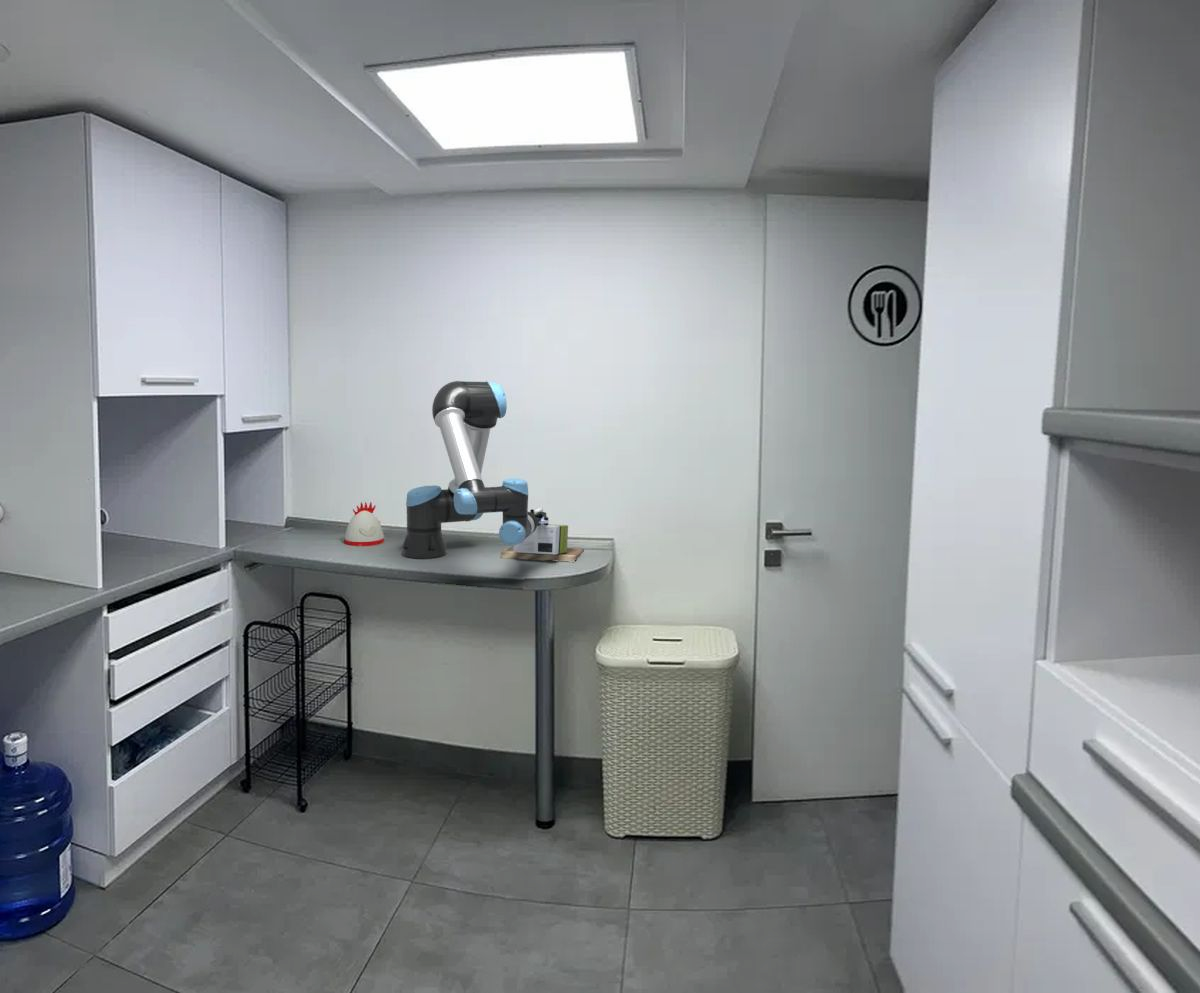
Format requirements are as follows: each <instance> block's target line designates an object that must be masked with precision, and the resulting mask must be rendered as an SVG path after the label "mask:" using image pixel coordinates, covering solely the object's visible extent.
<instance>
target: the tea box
mask: <svg viewBox="0 0 1200 993" xmlns="http://www.w3.org/2000/svg"><path fill="white" fill-rule="evenodd" d="M568 534H569V525H567V524H553V523H552V524H551V523H548V525H547V526H546V525H542V523H541V525H539V526H537V528H536V530H535V531H534V532H533V533H532V534H530V535H529V536H528V537H527V538H525V539H524V541H523V542H521V543H520V544H517V545H514V552H518V553H534V554H551V555H557V554H561V553H566V552H567V548H568V537H569V536H568Z"/></svg>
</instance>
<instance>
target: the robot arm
mask: <svg viewBox="0 0 1200 993" xmlns="http://www.w3.org/2000/svg"><path fill="white" fill-rule="evenodd" d="M507 405H508V404H507V396H506V392H505V390H504V388H503V386H502V385H501V384H499V383H498V382H494V381H461V380H456V381H455V380H454V381H450V382H448V383H446V384H445V385H443V386H441V388H440V389H439V390H438V392H437V393H436V394H435V397H434V398H433V402H432V406H431V407H432V408H431V409H432V410H431V411H432V418H433V421H434V425H435V426H437V427H438V428H439V430H440V433H441V437H442V440H443V442H444V446H445V449H446V450H445V451H446V452H447V457H448V458H449V462H450V466H451V469H452V472H453V475H454V478H453V479H452V480H450V482H449V483H448V488H446V489H442V488H441V486H440V485H433V484H432V485H423V486H418V487H415V488H412V489H410V490H409V491H408V492H407V493H406V501H405V502H406V503H405V506H406V535H405V538H404V540H403V543H402V544H403V545H402V547H401V555H402V556H403V557H405V558H410V559H434V558H439V557H443V556H445V555H447V553H448V552H447V545H446V542H445V539H444V536H443V533H442V524H445V523H446V524H447V523H458V522H471V521H477V520H479V519H481V517H482V516H483V514H488V513H489V514H491V513H501V512H502V524H501V526H500V528H499V530H498V537H499V540H501V542H502V543H503V544H505V545H507V546H510V547H512V546H514V545H517V544H520V543H521V542H523V541H524V539H525V538H527V537H528V536H529V535H530V534H532V533H533V532H534V531H535V530H536V528H537V526H539V525H541V524H542V525H546V526H547V525H548V524H549V516H547V512H544V508H541V507H537V508H536V510H535V509H529V487H528V486H529V484H528V482H527V481H526V479H523V478H505V479H504V480H502V485H500V486H485V484H484V480H483V478H482V470H483V466H484V461H485V456H486V452H487V446H488V442H489V437H490V432H491V429H493V428H495V427H496V425H497V422H498V419H502V418H504V417H505V415H506V414H507V408H508V406H507ZM528 509H529V510H530V511H528Z"/></svg>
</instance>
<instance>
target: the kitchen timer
mask: <svg viewBox="0 0 1200 993" xmlns="http://www.w3.org/2000/svg"><path fill="white" fill-rule="evenodd" d="M364 502H365V501H364ZM372 506H373V507H372ZM376 506H377V505H376V504H375V505H373V504H372V502H371V501H370V503H369V505H368V503H367V502H365V503H364V505H363V502H362V501H361V502H360V506H358V505H356V508H357V511H356V510H355V509H354V508H352V512H353V513H354V515H353V516H352V517H351V519H350V520H349V522H348V524H347V527H346V530H345V534H344V544H345V545H347V546H352V547H371V546H377V545H378V546H379V545H381V544H384V543H385V535H384V531H383V527H382V525H381V520H379V519H378V518H377V516H375V514H373V513H374V511H375V509H376Z"/></svg>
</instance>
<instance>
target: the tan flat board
mask: <svg viewBox="0 0 1200 993" xmlns="http://www.w3.org/2000/svg"><path fill="white" fill-rule="evenodd" d="M584 551H585V550H584V548H578V547H576V548H575V547H574V548H573V547H567V552H566V553H561V554H557V555H551V554H534V553H518V552H514V546H510V548H508V549H506V550H502V551H500V558H501V557H502V559H513V558H518V559H517V560H528V559H534V560H533V561H544V560H558V561H557V562H560V561H575V560H576V559H577V558H578V557H579V558H580V557H581V555H582V554H583V553H584ZM581 553H582V554H581ZM579 558H578V559H579ZM535 559H536V560H535ZM578 559H577V560H578ZM577 560H576V561H577ZM576 561H575V562H576Z"/></svg>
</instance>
